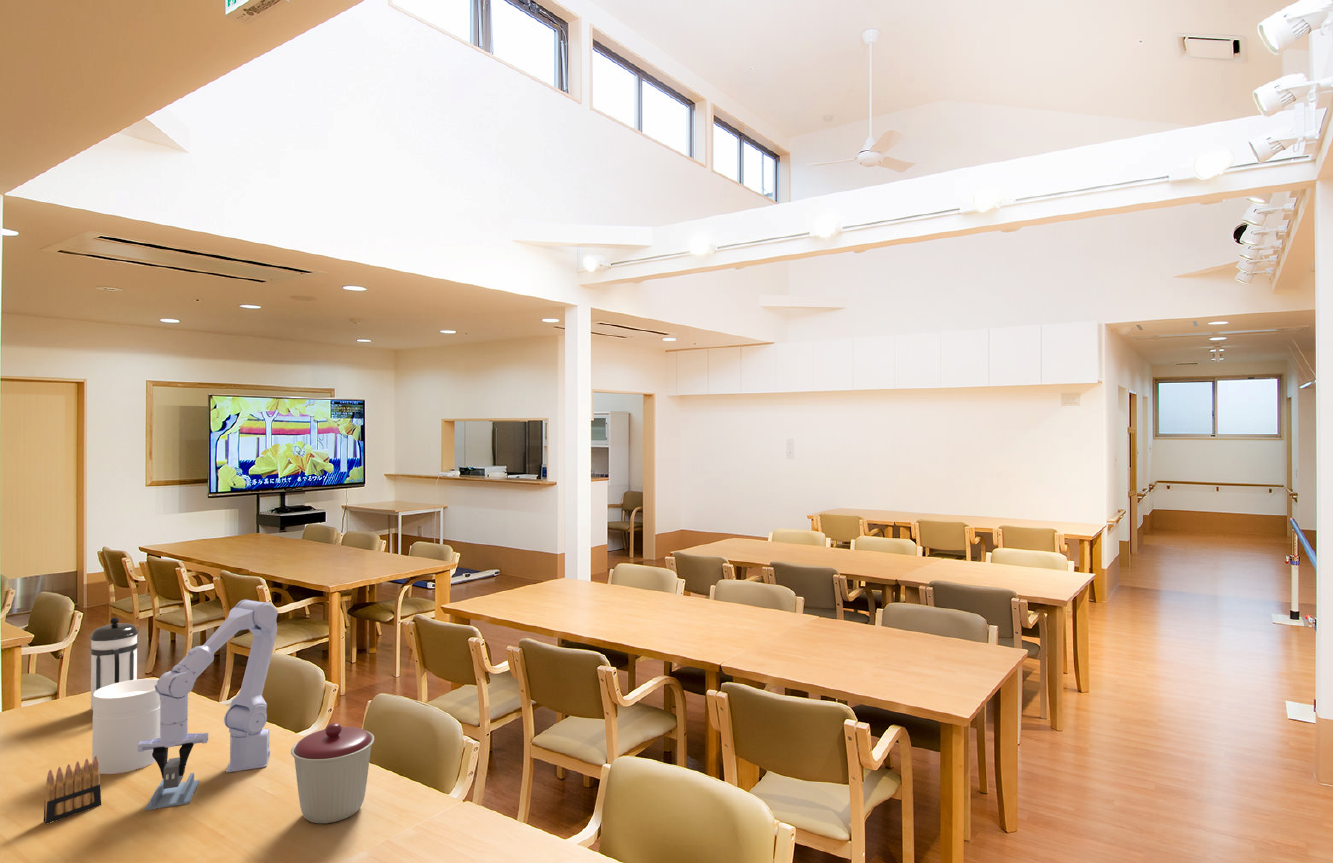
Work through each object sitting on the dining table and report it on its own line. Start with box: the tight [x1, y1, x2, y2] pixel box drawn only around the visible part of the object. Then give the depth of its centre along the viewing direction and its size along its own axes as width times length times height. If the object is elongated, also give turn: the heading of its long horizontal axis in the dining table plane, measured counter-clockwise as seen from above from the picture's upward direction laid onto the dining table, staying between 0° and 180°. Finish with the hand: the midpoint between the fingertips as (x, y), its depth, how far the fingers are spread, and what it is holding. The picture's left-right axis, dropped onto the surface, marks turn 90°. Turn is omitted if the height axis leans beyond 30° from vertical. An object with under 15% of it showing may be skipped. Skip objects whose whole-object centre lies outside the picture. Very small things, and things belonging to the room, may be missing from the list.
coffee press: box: [89, 617, 140, 710], centre depth 241 cm, size 17×16×30 cm
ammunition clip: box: [43, 756, 102, 825], centre depth 175 cm, size 11×2×12 cm, turn 146°
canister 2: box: [290, 722, 375, 824], centre depth 175 cm, size 18×18×21 cm
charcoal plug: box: [162, 756, 184, 789], centre depth 183 cm, size 3×7×5 cm, turn 22°
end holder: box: [144, 772, 200, 811], centre depth 183 cm, size 9×12×3 cm
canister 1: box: [91, 678, 160, 775], centre depth 203 cm, size 16×16×20 cm
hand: (173, 775), depth 183 cm, fingers closed on charcoal plug, 3 cm apart
